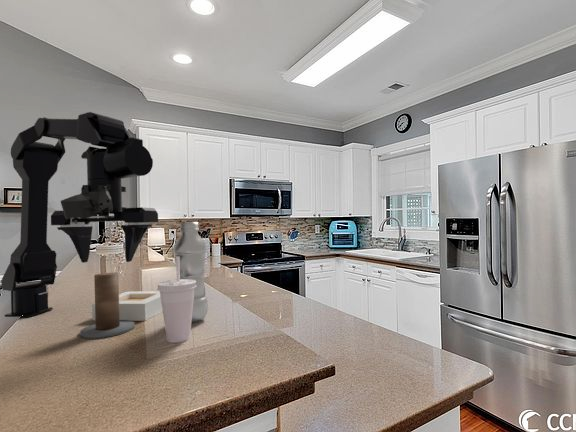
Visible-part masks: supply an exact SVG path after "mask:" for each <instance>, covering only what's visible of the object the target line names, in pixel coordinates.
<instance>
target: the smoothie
mask: <svg viewBox="0 0 576 432" xmlns="http://www.w3.org/2000/svg"><path fill="white" fill-rule="evenodd" d="M175 268H177V271H176V279H171V280H165V281H161V282H159V283H157V291H160V297H161V304H162V310H163V312H162V315H163V322H164V329H165V334H166V341H167V342H168V343H173V344H175V343H177V344H178V343H182V342H186V341H188V340H190V338H191V332H192V322H191V321H192V310H193V300H194V289H195V287H196V281H195V280H192V279H180V257H176V263H175Z"/></svg>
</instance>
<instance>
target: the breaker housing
mask: <svg viewBox="0 0 576 432" xmlns="http://www.w3.org/2000/svg"><path fill="white" fill-rule="evenodd" d="M129 299H144V300H142V301H126V300H129ZM161 313H163V310H162V304H161V297H160V291H158V290H157V291H152V290H150V291H140V290H139V291H125V292H122V293H119V318H120V320H130V321H133V322H134V321H137V322H138V321H140V322H142V321H145V322H147V320H150V319H152V318H154V317H155V316H157V315H159V314H161ZM91 316H92V321H95V302H94V303H91Z"/></svg>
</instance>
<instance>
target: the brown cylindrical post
mask: <svg viewBox="0 0 576 432" xmlns="http://www.w3.org/2000/svg"><path fill="white" fill-rule="evenodd" d="M93 277H94V278H93V279H94V303H95V320H94V322H95V323H94V324H96V330H99V331H103V330H110V329H114V328H117V327H119V326H120V318H119V294H120V284H119V283H120V281H119V278H120V277H119V272H103V273H97V274H94V276H93Z"/></svg>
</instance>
